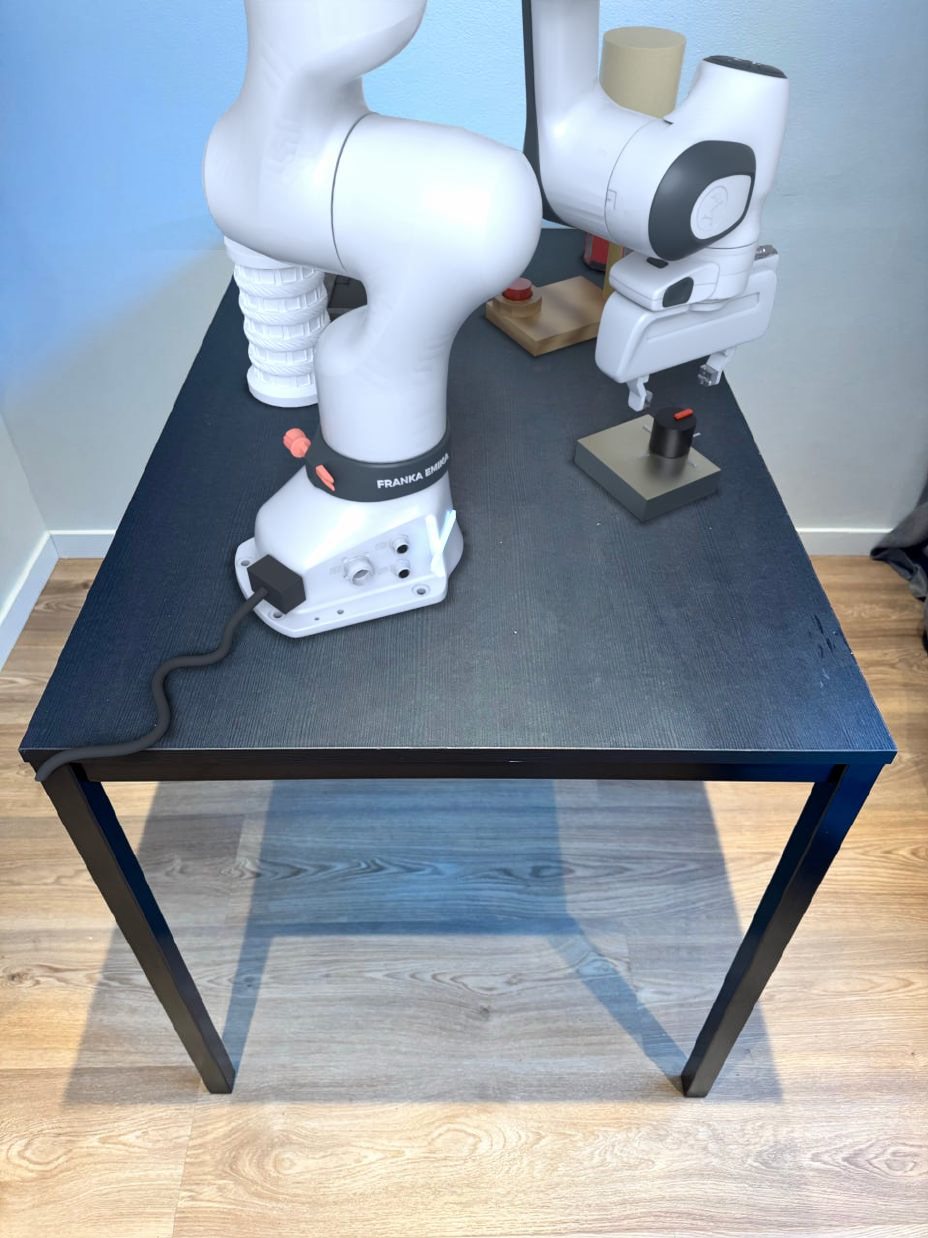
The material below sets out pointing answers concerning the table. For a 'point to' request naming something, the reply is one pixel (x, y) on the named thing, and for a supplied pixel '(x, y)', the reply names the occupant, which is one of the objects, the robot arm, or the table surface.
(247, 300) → the decorative container
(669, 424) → the dimmer knob
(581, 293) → the lamp base
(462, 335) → the table surface
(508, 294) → the lamp switch
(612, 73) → the lamp
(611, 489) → the block
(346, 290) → the picture frame
